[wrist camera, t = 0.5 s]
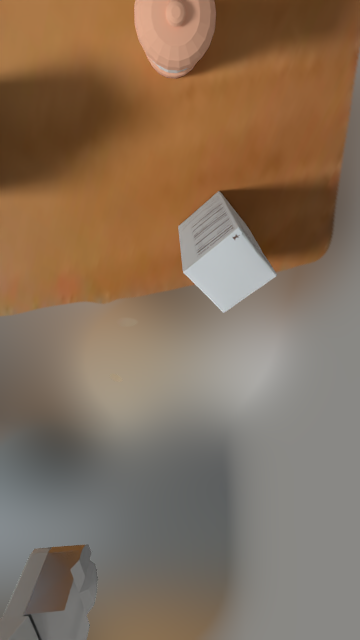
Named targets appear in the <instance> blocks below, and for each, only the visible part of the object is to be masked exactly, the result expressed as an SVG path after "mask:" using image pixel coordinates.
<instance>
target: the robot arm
mask: <svg viewBox="0 0 360 640" xmlns="http://www.w3.org/2000/svg"><path fill="white" fill-rule="evenodd" d="M90 556H91V550H90V547H89V545H74V546H62V547H49V548H39V549H34V551H33V552H32V553H31V555H30V556H29V558H28V560H27V563H26V565H25V567H24V569H23V572H22V574H21V576H20V578H19V581H18V583H17V585H16V587H15V590H14V592H13V594H12V597H11V599H10V601H9V603H8V605H7V608H6V610H5V612H4V615H3V617H2V618H0V640H86V639H87V635H88V631H89V626H90V624H89V621H88V619H87V614H88V612H89V611H90V610H91V608H92V607H93V606H94V603H95V598H96V593H97V581H98V577H97V569H96V566H95V564H94V563H93V562H92V561H90Z"/></svg>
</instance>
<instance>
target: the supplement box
mask: <svg viewBox="0 0 360 640" xmlns="http://www.w3.org/2000/svg"><path fill="white" fill-rule="evenodd" d="M178 228H179V238H180V247H181V257H182V267H183V273H184V274H185V275H186V276H187V277H189V279H190V280H191V281H192V282H193V283H194V284H195V285H196V286H197V287H199V288H200V289H201V291H203V292H204V294H206V296H207V297H208V298H209V299H210V300H211V301H212V302H213V303H214V304H215V305H216V306H217V307H218V308H219V309H220V310H221V311H222V312H223V313H224V312H226V311H227V310H229V309H230V308H232V307H233V306H234V305H236V304H237V303H239V302H240V301H241V300H243V299H244V298H246V297H247V296H249V295H250V294H251V293H253V292H254V291H256V290H257V289H259V288H260V287H262V286H263V285H265V284H266V283H267V282H269V281H270V280H272V279H273V278H274V277H276V276H277V274H276V273H275V271H274V269H273V268H272V266H271V265H270V263H269V261H268V260H267V258H266V257H265V256H264V254H263V253H262V251H261V248H260V247H259V245H258V243H257V242H256V240H255V238H254V237H253V235H252V233H251V231H250V230H249V228H248V227H247V225H246V224H245V223H244V221H243V220H242V219H241V217H240V216H239V215H238V214H237V212H236V211H235V210H234V208H233V207H232V206H231V205H230V203H229V202H228V201H227V199H226V198H225V197H224V196H223V194H222V193H221V192H220V191H218V192H217V193H216V194H215V195H214V196H213V197H211V198H210V199H209V200H208V201H207V202H206V203H205V204H203V205H202V206H201V207H200V208H199V209H198V210H197V211H195V212H194V213H193V214H192V215H191V216H190V217H189V218H187V219H186V220H185V221H184V222H183V223H182V224H181V225H179V227H178Z"/></svg>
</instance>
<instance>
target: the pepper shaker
mask: <svg viewBox="0 0 360 640" xmlns="http://www.w3.org/2000/svg"><path fill="white" fill-rule="evenodd" d="M134 13H135V27H136V31H137V35H138V39H139V42H140V43H141V45H142V47H143V49H144V51H145V53H146V56H147V58H148V60H149V61H150V63H151V65H152V67H153V68H154V69H155V70H156V71H157V72H158V73H159V74H161V75H163V76H165V77H167V78H179V77H182V76H184V75H186V74H187V73H188V72H189V71H191V70H192V69H193V67H194V66H195V64H196V63H197V62H198V61H199V60H200V59H201V58H202V57H203V55H204V54H205V52H206V51H207V49H208V48H209V46H210V43H211V40H212V37H213V34H214V31H215V21H216V9H215V2H214V0H136V1H135V6H134Z"/></svg>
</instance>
